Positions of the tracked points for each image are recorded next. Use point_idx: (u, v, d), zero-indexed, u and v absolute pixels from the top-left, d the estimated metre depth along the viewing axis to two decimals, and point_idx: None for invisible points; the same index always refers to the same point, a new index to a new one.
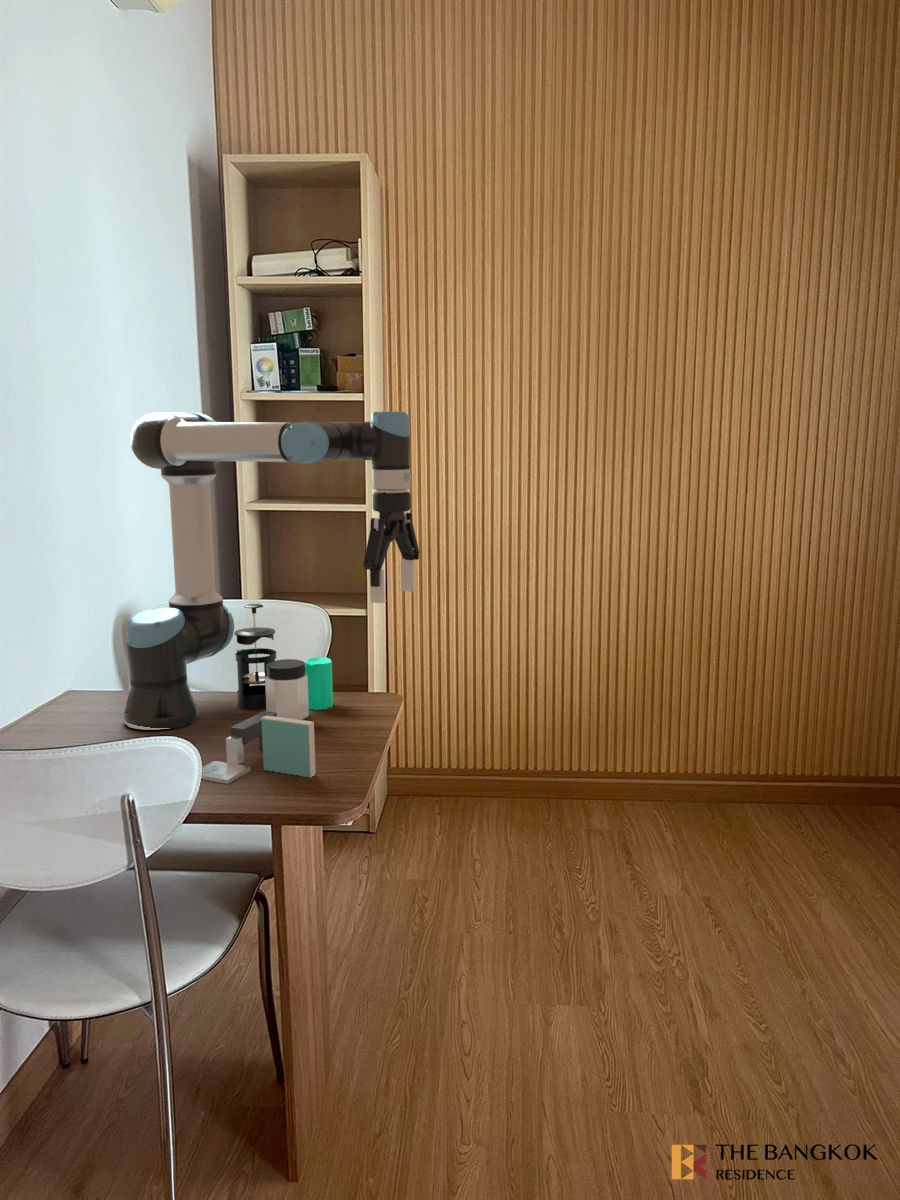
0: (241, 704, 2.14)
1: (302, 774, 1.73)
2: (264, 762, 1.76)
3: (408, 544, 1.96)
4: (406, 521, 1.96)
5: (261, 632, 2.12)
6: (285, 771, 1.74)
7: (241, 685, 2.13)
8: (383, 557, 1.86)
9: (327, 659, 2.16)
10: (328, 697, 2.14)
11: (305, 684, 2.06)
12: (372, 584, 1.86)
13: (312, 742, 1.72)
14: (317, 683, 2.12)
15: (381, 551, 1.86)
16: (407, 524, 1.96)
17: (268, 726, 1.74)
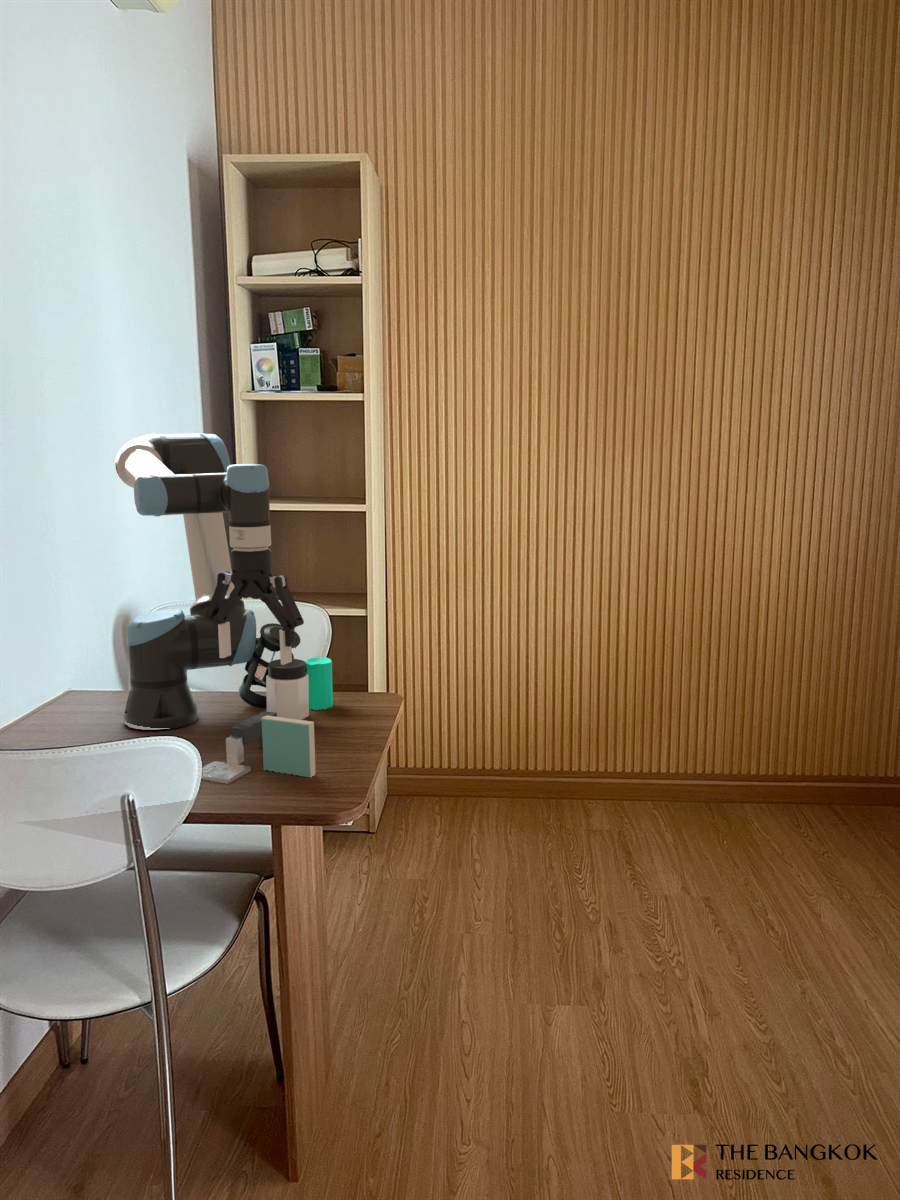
0: (244, 695, 2.13)
1: (302, 774, 1.73)
2: (264, 762, 1.76)
3: (272, 610, 1.77)
4: None
5: None
6: (285, 771, 1.74)
7: (250, 681, 2.11)
8: (221, 612, 1.82)
9: (327, 659, 2.16)
10: (328, 697, 2.14)
11: (306, 684, 2.06)
12: None
13: (312, 742, 1.72)
14: (317, 683, 2.12)
15: None
16: None
17: (268, 726, 1.74)
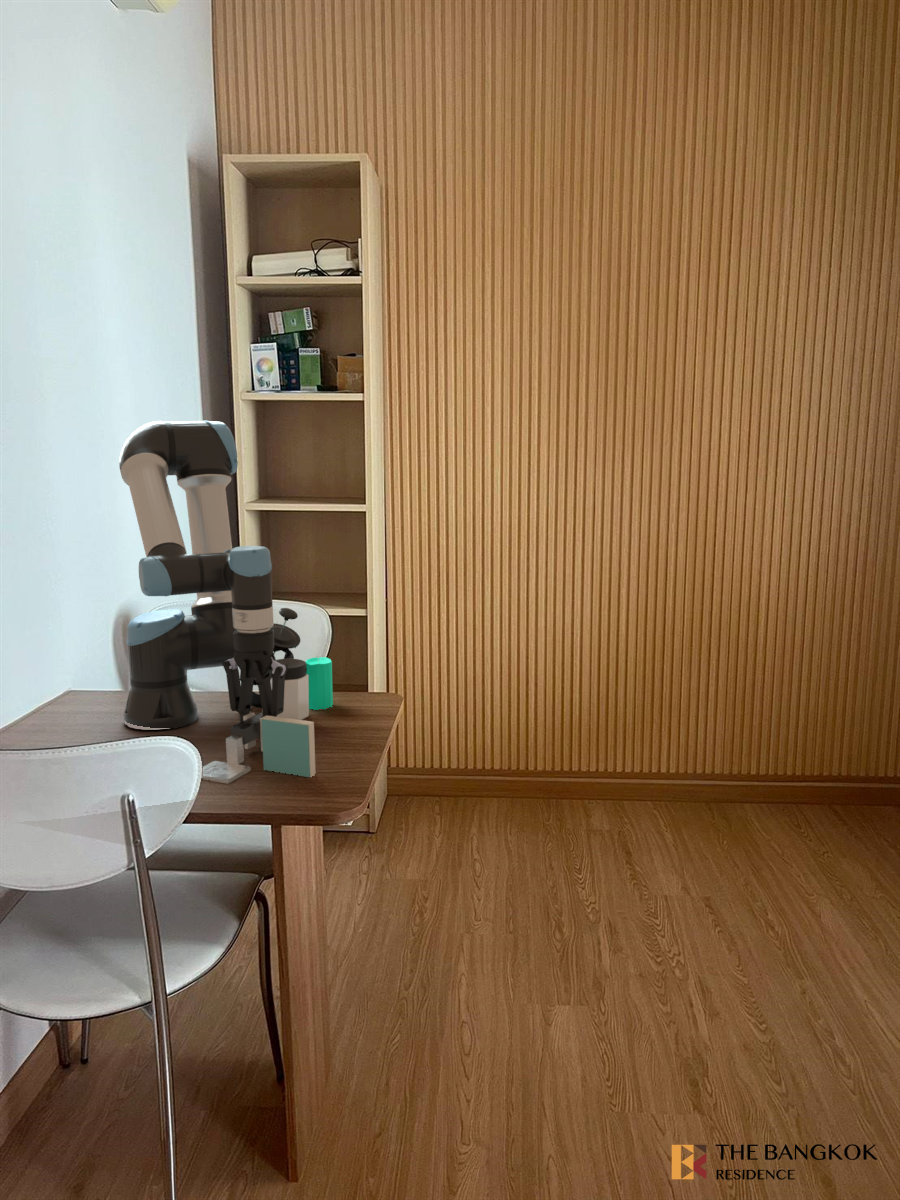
0: None
1: (302, 774, 1.73)
2: (264, 762, 1.76)
3: (261, 695, 1.81)
4: None
5: (287, 641, 2.08)
6: (285, 771, 1.74)
7: None
8: (242, 701, 1.83)
9: (327, 659, 2.16)
10: (328, 697, 2.14)
11: (306, 684, 2.06)
12: None
13: (312, 742, 1.72)
14: (317, 683, 2.12)
15: None
16: None
17: (268, 726, 1.74)
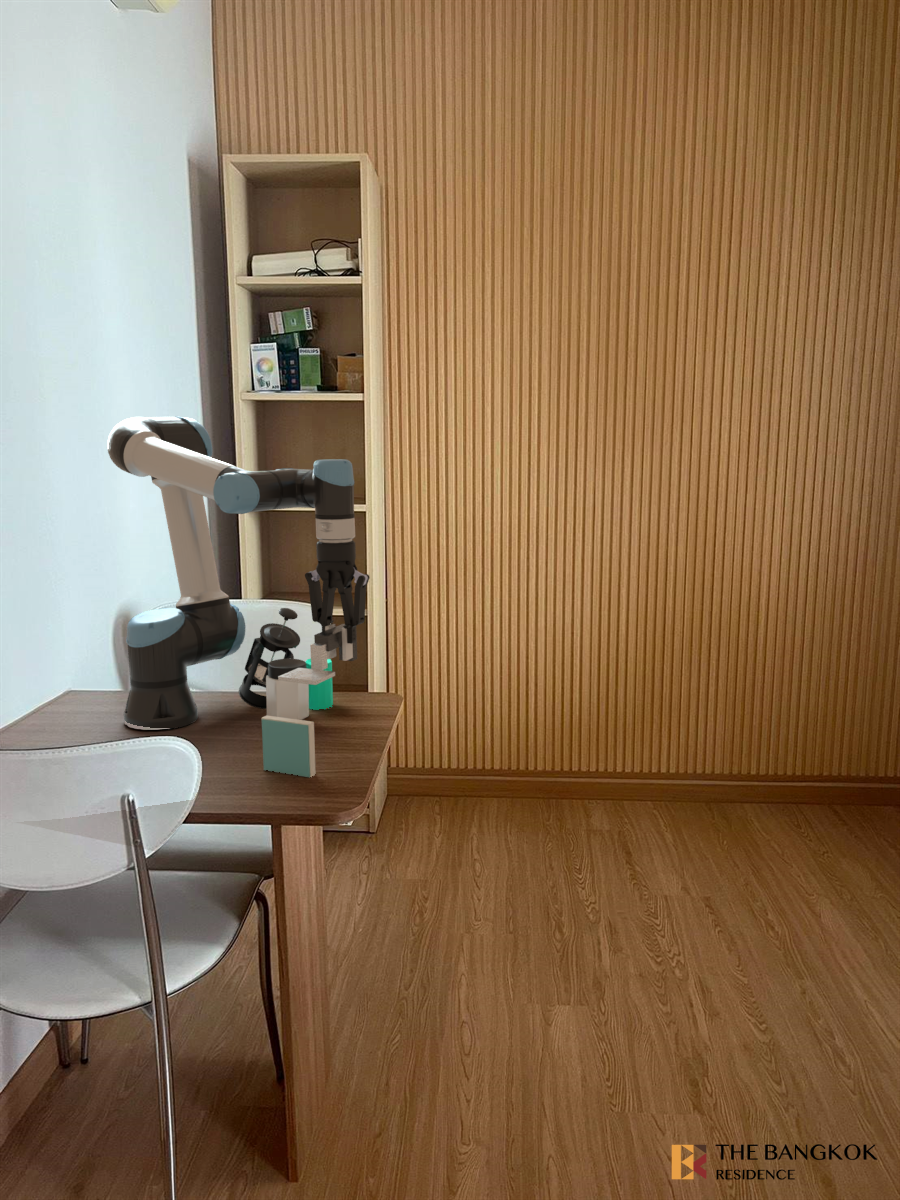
0: (244, 695, 2.13)
1: (302, 774, 1.73)
2: (264, 762, 1.76)
3: (343, 604, 1.86)
4: None
5: (287, 641, 2.08)
6: (285, 771, 1.74)
7: (250, 681, 2.11)
8: (324, 612, 1.88)
9: (327, 659, 2.16)
10: (328, 697, 2.14)
11: (305, 684, 2.06)
12: None
13: (312, 742, 1.72)
14: None
15: None
16: None
17: (268, 726, 1.74)
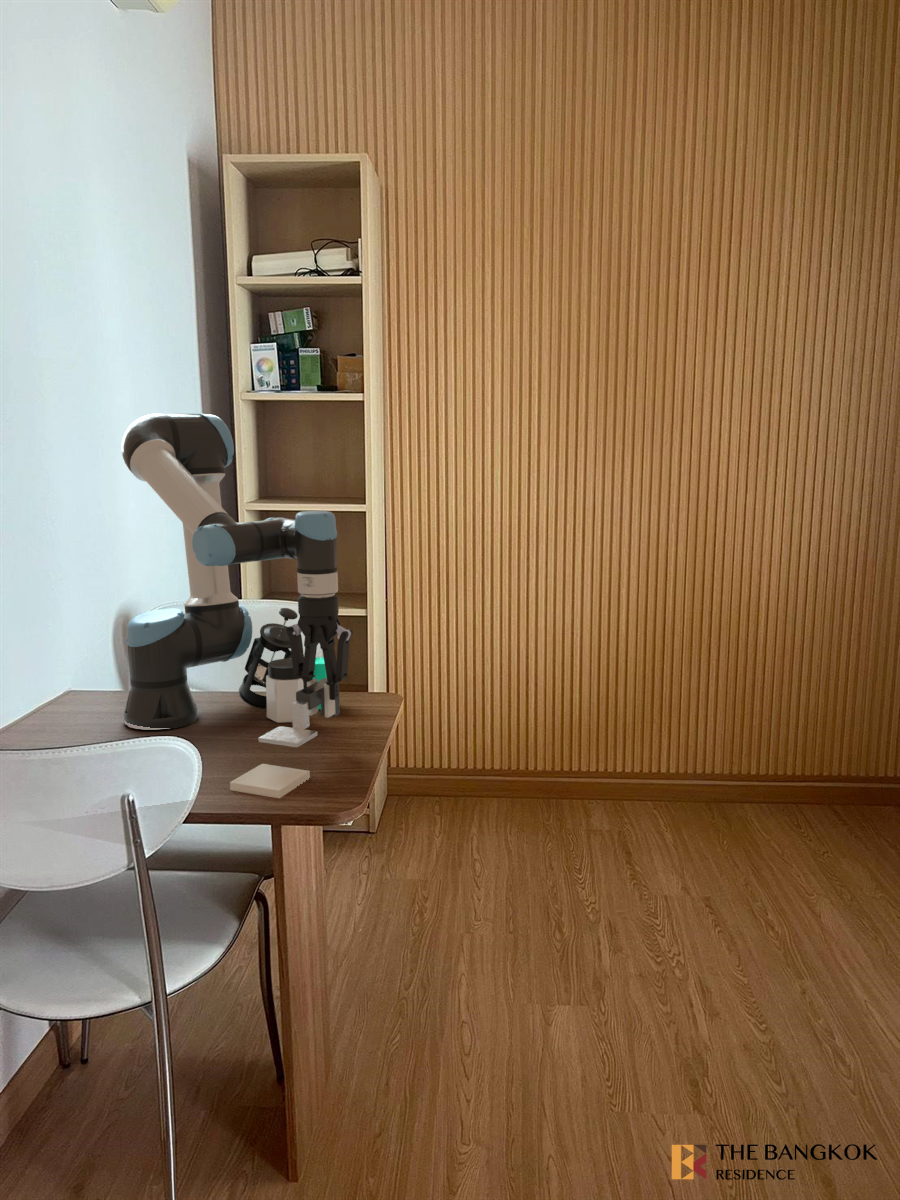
0: (244, 695, 2.13)
1: None
2: None
3: (325, 660, 1.81)
4: None
5: (287, 641, 2.08)
6: None
7: (250, 681, 2.11)
8: (305, 667, 1.83)
9: None
10: None
11: None
12: None
13: (290, 786, 1.67)
14: None
15: None
16: None
17: None
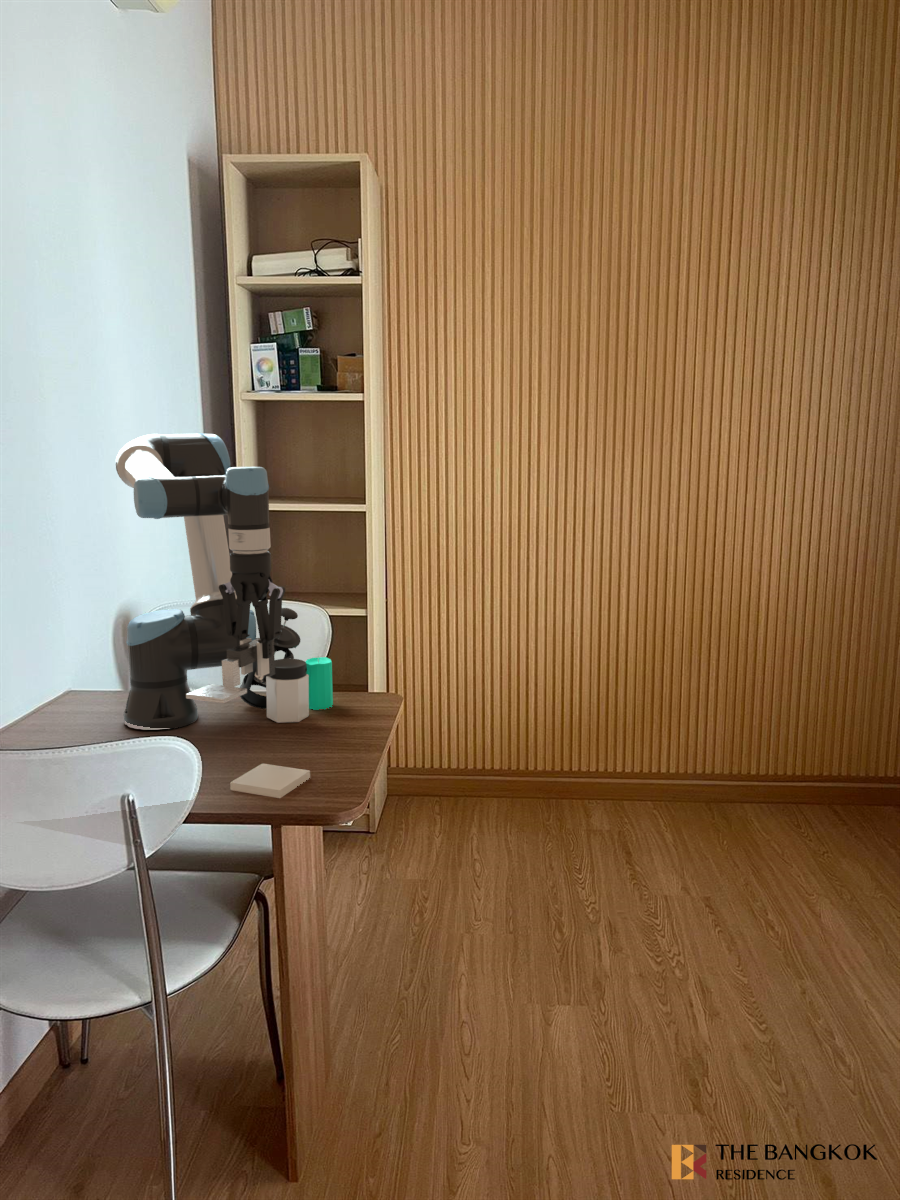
0: (244, 695, 2.13)
1: None
2: None
3: (257, 618, 1.79)
4: None
5: (287, 641, 2.08)
6: None
7: (250, 681, 2.11)
8: (238, 625, 1.81)
9: (327, 659, 2.16)
10: (328, 697, 2.14)
11: (306, 684, 2.06)
12: None
13: (291, 786, 1.67)
14: (317, 683, 2.12)
15: None
16: None
17: None
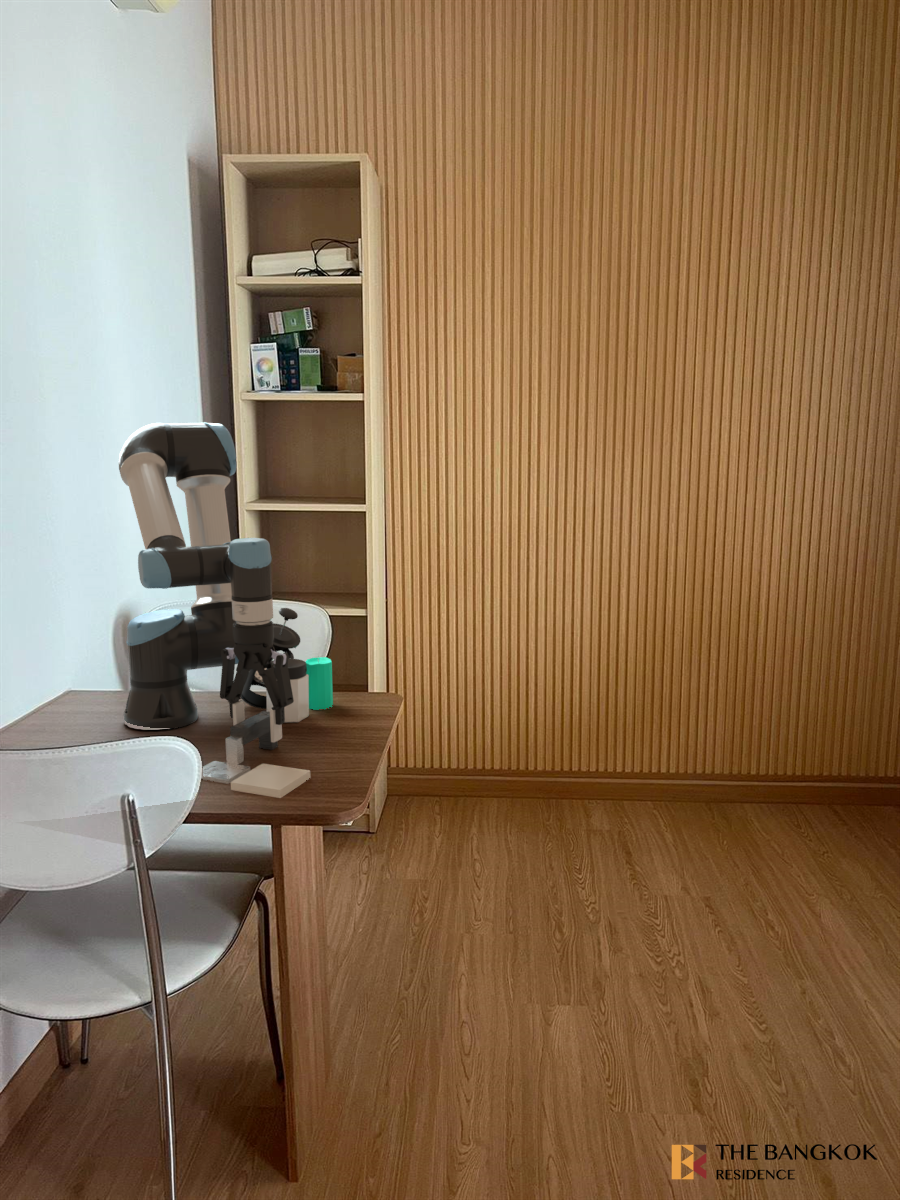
0: (244, 695, 2.13)
1: None
2: None
3: (267, 686, 1.81)
4: None
5: (287, 641, 2.08)
6: None
7: (250, 681, 2.11)
8: (233, 690, 1.84)
9: (327, 659, 2.16)
10: (328, 697, 2.14)
11: (306, 684, 2.06)
12: None
13: (291, 786, 1.67)
14: (317, 683, 2.12)
15: None
16: None
17: None
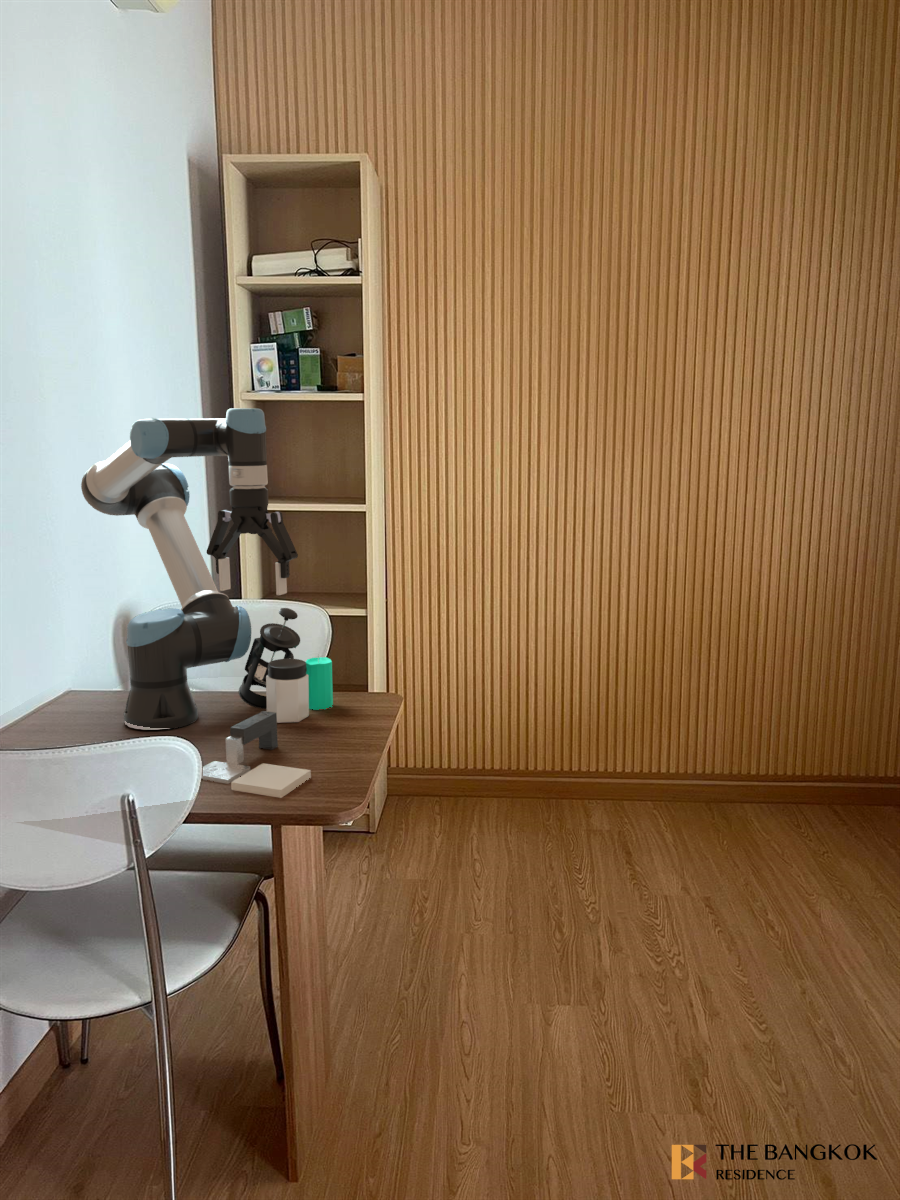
0: (244, 696, 2.13)
1: None
2: None
3: (268, 544, 1.91)
4: None
5: (287, 641, 2.08)
6: None
7: (250, 681, 2.11)
8: (221, 547, 1.96)
9: (327, 659, 2.16)
10: (328, 697, 2.14)
11: (305, 684, 2.06)
12: None
13: (292, 786, 1.67)
14: (317, 683, 2.12)
15: None
16: None
17: None
